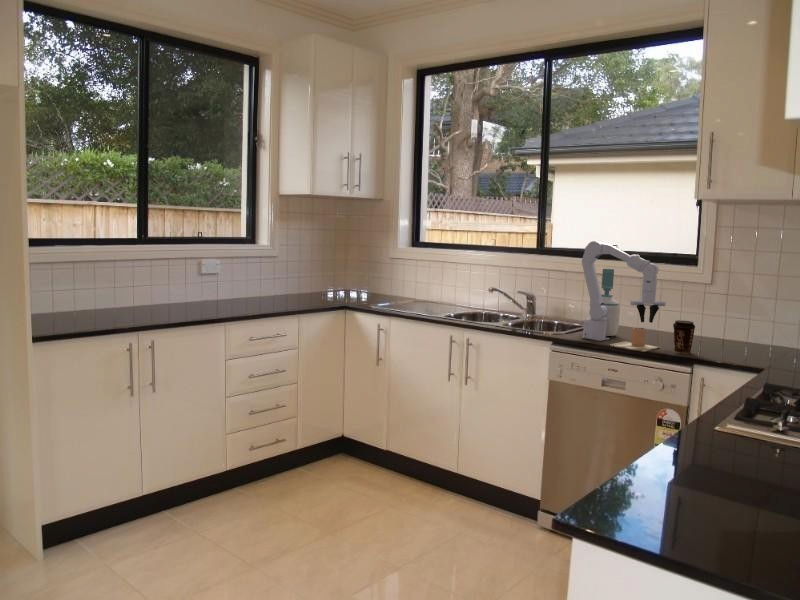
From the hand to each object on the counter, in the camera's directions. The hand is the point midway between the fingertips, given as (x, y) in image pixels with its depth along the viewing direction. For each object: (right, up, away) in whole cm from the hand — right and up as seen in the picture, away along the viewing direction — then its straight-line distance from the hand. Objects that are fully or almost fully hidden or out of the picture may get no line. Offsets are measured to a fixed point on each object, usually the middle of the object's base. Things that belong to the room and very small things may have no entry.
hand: (646, 322), depth 298 cm
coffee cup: (+10, -12, -14) cm, 21 cm away
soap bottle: (-12, -7, +24) cm, 27 cm away
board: (-7, -10, -5) cm, 14 cm away
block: (-5, -10, -3) cm, 11 cm away
